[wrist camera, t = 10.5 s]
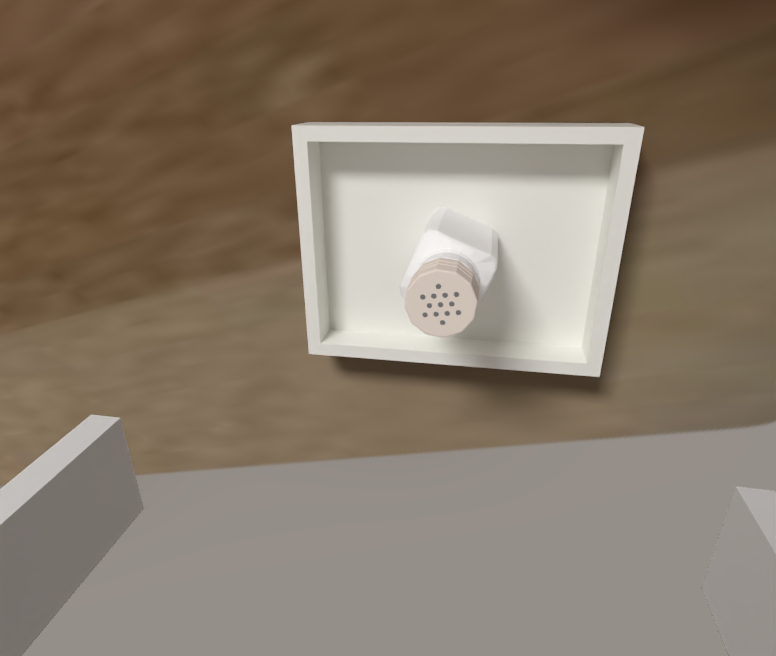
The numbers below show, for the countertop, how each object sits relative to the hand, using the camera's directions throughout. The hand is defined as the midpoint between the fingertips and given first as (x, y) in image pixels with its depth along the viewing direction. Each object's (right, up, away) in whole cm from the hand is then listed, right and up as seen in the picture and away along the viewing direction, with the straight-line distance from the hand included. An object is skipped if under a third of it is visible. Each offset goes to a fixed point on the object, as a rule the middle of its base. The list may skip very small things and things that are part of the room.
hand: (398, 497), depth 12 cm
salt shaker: (+4, +9, +20) cm, 22 cm away
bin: (+4, +9, +21) cm, 23 cm away
